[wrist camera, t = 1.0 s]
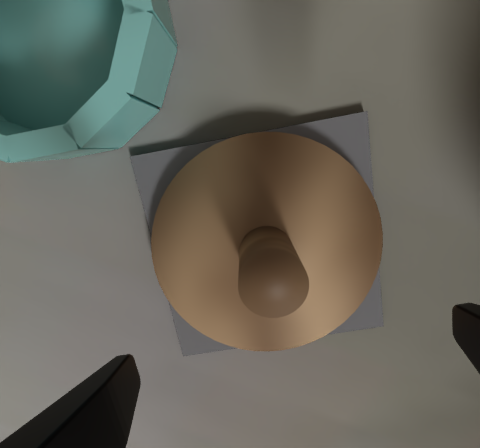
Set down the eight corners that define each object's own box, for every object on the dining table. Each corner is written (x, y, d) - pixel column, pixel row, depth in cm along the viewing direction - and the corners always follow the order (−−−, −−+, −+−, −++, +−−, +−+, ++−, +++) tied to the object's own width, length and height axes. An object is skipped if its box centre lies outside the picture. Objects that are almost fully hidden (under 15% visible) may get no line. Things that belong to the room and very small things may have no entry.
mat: (364, 112, 15) (367, 111, 15) (380, 322, 18) (383, 326, 18) (132, 156, 16) (129, 156, 15) (184, 351, 19) (183, 356, 18)
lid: (367, 111, 15) (424, 95, 10) (383, 325, 18) (432, 389, 13) (129, 156, 15) (80, 161, 11) (183, 355, 18) (162, 427, 14)
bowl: (139, -133, 13) (94, -254, 9) (196, 134, 15) (179, 129, 12) (-99, -73, 13) (-238, -163, 10) (-6, 172, 16) (-85, 181, 12)
